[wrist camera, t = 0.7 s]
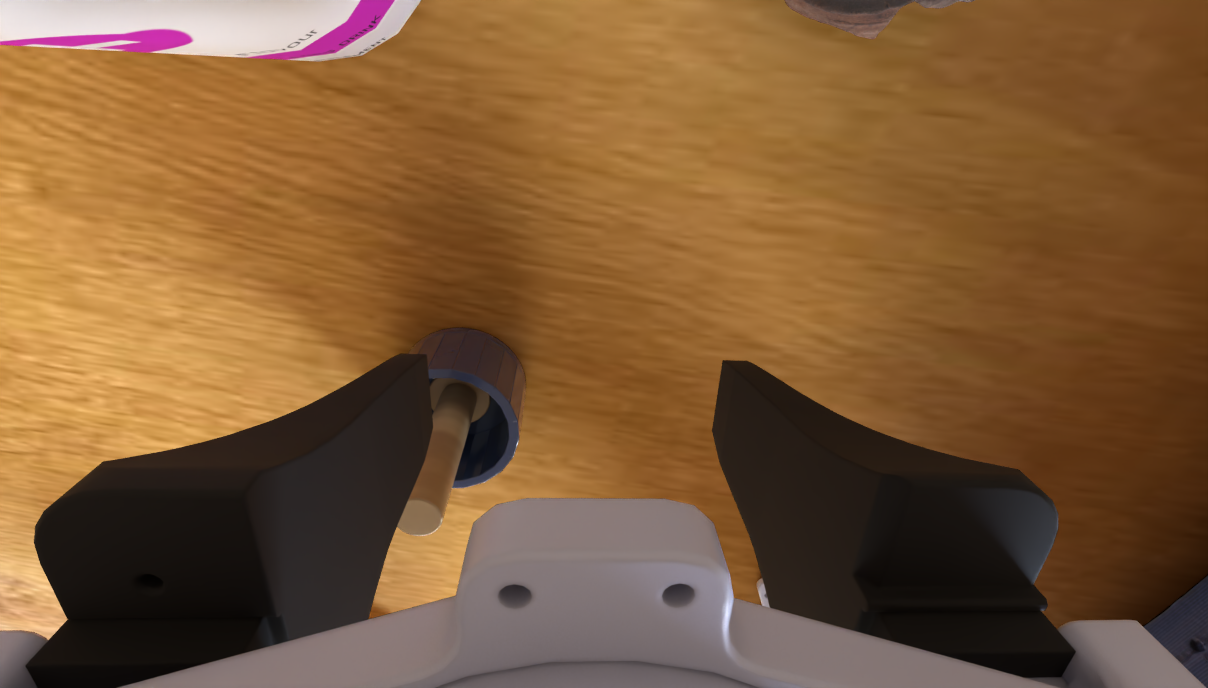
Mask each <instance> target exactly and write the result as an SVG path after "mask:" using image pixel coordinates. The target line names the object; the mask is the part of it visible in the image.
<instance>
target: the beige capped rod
mask: <svg viewBox="0 0 1208 688" xmlns="http://www.w3.org/2000/svg"><path fill="white" fill-rule="evenodd" d="M430 396H431V407H432V409H433V411H434V413H433V415H432V418H433V430H432V435H431V439H430V443H429V447H428V451H427V454H426V458H425V461H424V464H423V466H422V469H421V471H420V474H419V476H418V478H417V481H416V483H415V486H414V488H413V490H412V493H411V495H410V497H409V500H408V502H407V504H406V507H405V509H404V511H403V514H402V516H401V518H400V521H399V523H398V525H397V527H398V528H399V529H401V530H402V531H403V532H405V533H407V534H410V535H414V536H425V535H429V534H431V533H433V532H435V531H436V530H437V529H438V528H439V527H440V526H441V524H442V521H443V518H444V514H445V511H446V507H447V504H448V500H449V497H450V493H451V490H452V486H453V483H454V480H455V476H456V473H457V469H458V466H459V462H460V459H461V455H462V452H463V448H464V445H465V441H466V438H467V435H468V431H469V428H470V424H471V422H474V421H476V420H478V419H480V418H481V417H482V416H483V415H484V414H485V413H486V412H487V410H488V408H489V406H490V402H491V398H492V397H491V396H490V395H489V394H488V393H487V392H485V391H483V390H481V389H480V388H478V387H476V386H475V385H473V384H471V383H467V382H464V381H460V380H456V379H452V378H433V380H432V382H431V384H430Z"/></svg>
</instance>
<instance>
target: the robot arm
mask: <svg viewBox="0 0 1208 688" xmlns="http://www.w3.org/2000/svg"><path fill="white" fill-rule="evenodd" d="M432 430H433V418H432V407H431V396H430V385H429V374H428V363H427V354H399V355H397V356H395V357H393V358H391V359H389V360H387V361H386V362H384V363H382V364H380V365H379V366H377V367H376V368H374V369H372V370H371V371H369V372H367V373H366V374H364V375H362V376H360V377H359V378H357V379H355V380H354V381H352V382H350V383H349V384H347V385H345V386H343V387H341V388H340V389H338V390H336V391H334V392H332V393H330V394H328V395H327V396H325V397H323V398H321V399H319V400H317V401H315V402H313V403H311V404H309V405H307V406H305V407H303V408H300V409H298V410H296V411H294V412H291V413H289V414H287V415H284V416H282V417H279V418H277V419H274V420H272V421H269V422H266V423H263V424H260V425H257V426H254V427H251V428H248V429H245V430H242V431H239V432H236V433H234V434H231V435H227V436H224V437H220V438H217V439H213V440H209V441H206V442H202V443H198V444H193V445H189V446H185V447H181V448H176V449H172V450H167V451H162V452H157V453H151V454H145V455H140V456H134V457H129V458H123V459H117V460H111V461H104V462H102V463H101V464H100V465H99V466H97V467H96V468H95V469H94V470H93V471H91V472H90V473H89V474H88V475H87V476H85V477H84V478H83V479H82V480H81V481H79V482H78V483H77V484H76V485H75V486H73V487H72V488H71V489H70V490H69V491H67V492H66V493H65V494H64V495H63V496H61V497H60V498H59V499H58V500H57V501H55V502H54V503H53V504H52V505H51V506H49V507H48V508H47V509H46V510H45V511H44V512H43V514H42V515H41V517H40V519H39V521H38V522H37V524H36V526H35V537H34V544H35V548H36V551H37V554H38V558H39V561H40V564H41V566H42V568H43V570H44V572H45V574H46V576H47V578H48V580H49V582H50V584H51V586H52V588H53V590H54V593H55V595H56V597H57V599H58V601H59V603H60V605H61V607H62V609H63V611H64V613H65V615H66V617H67V619H68V620H67V621H66V622H65V623H64V624H63V625H62V626H61V628H60V629H59V630H58V631H57V632H56V633H55V634H54V635H53V636H52V637H51V638H50V639H49V640H47V639H46V638H45V637H43V636H41V635H39V634H37V633H35V632H29V631H22V630H13V631H0V688H1206V687H1205V686H1204V685H1203V684H1202V683H1201V682H1200V681H1199V680H1198V679H1197V678H1196V677H1195V676H1194V675H1192V674H1191V673H1190V672H1189V671H1188V670H1187V669H1186V668H1185V667H1184V666H1183V665H1182V664H1181V663H1180V662H1179V661H1178V660H1177V659H1176V658H1175V657H1174V656H1173V655H1172V654H1171V653H1170V652H1169V651H1168V650H1167V649H1166V648H1165V647H1164V646H1162V645H1161V644H1160V643H1159V642H1158V641H1157V640H1156V639H1155V638H1154V637H1153V636H1152V635H1151V634H1150V633H1149V632H1148V631H1147V630H1146V629H1145V628H1144V627H1143V626H1142V625H1141V624H1140V623H1139V622H1138V621H1135V620H1077V621H1071V622H1067V623H1066V624H1064V625H1062V626H1060V627H1059V628H1058V629H1056V628H1055V627H1054V626H1053V624H1052V623H1051V622H1050V621H1049V620H1048V619H1047V618H1046V616H1045V615H1044V614H1043V613H1042V612H1041V611H1045V610H1046V608H1047V606H1048V603H1047V599H1046V598H1045V597H1044V596H1043V595H1042V594H1041V593H1040V592H1039V590H1038V589H1037V588H1036V587H1035V586H1034V585H1033V584H1034V582H1035V580H1036V578H1037V576H1038V574H1039V572H1040V570H1041V568H1042V566H1043V564H1044V562H1045V560H1046V558H1047V556H1048V554H1049V552H1050V550H1051V548H1052V546H1053V543H1054V540H1055V537H1056V534H1057V531H1058V512H1057V510H1056V507H1055V505H1054V503H1053V501H1052V500H1051V499H1050V498H1049V497H1048V496H1047V495H1046V494H1045V493H1044V492H1043V491H1042V490H1041V489H1040V488H1038V487H1037V486H1036V485H1035V484H1034V483H1033V482H1032V481H1031V480H1030V479H1029V478H1028V477H1026V476H1025V475H1024V474H1023V473H1022V472H1021V471H1020V470H1018V469H1014V468H1009V467H1004V466H999V465H994V464H989V463H984V462H979V461H974V460H969V459H964V458H960V457H956V456H952V455H948V454H945V453H941V452H937V451H933V450H930V449H926V448H923V447H920V446H917V445H913V444H910V443H907V442H905V441H902V440H899V439H896V438H893V437H890V436H888V435H885V434H882V433H880V432H877V431H875V430H872V429H870V428H867V427H865V426H863V425H861V424H858V423H856V422H854V421H852V420H849V419H847V418H845V417H843V416H841V415H839V414H837V413H835V412H833V411H831V410H830V409H828V408H826V407H824V406H822V405H820V404H819V403H817V402H815V401H813V400H811V399H810V398H808V397H806V396H805V395H803V394H801V393H800V392H798V391H796V390H795V389H793V388H792V387H790V386H788V385H787V384H785V383H784V382H782V381H781V380H779V379H777V378H776V377H774V376H773V375H771V374H770V373H768V372H766V371H765V370H763V369H761V368H760V367H758V366H756V365H755V364H753V363H751V362H748V361H728V360H723V362H722V369H721V375H720V382H719V388H718V395H717V402H716V408H715V415H714V422H713V428H712V432H713V436H714V441H715V445H716V450H717V454H718V458H719V462H720V465H721V467H722V470H723V472H724V475H725V477H726V480H727V482H728V485H729V487H730V490H731V492H732V495H733V497H734V500H735V502H736V504H737V507H738V509H739V512H740V514H741V517H742V519H743V521H744V524H745V526H746V529H747V531H748V534H749V536H750V539H751V542H752V545H753V548H754V551H755V554H756V558H757V561H758V565H759V568H760V572H761V576H762V578H761V579H759V580H758V582H757V589H758V593H759V597H760V600H761V604H762V605H758V604H754V603H751V602H747V601H743V600H740V599H736V598H734V596H733V590H732V584H731V578H730V573H729V570H728V567H727V564H726V561H725V558H724V554H723V551H722V548H721V545H720V542H719V539H718V535H717V532H716V529H715V526H714V523H713V522H712V521H711V520H710V519H709V518H708V517H706V516H705V515H704V514H703V513H702V512H701V511H700V510H699V509H698V508H697V507H695V506H694V505H690V504H686V503H681V502H677V501H672V500H668V499H615V498H526V499H521V500H516V501H511V502H506V503H501V504H497V505H495V506H494V507H492V508H491V509H490V510H489V511H487V512H486V513H485V514H484V515H482V516H481V517H480V518H479V519H477V520H476V521H475V522H474V523H473V527H472V530H471V533H470V537H469V540H468V544H467V548H466V552H465V557H464V561H463V566H462V570H461V575H460V579H459V584H458V588H457V592H456V596H453V597H449V598H445V599H442V600H438V601H434V602H431V603H427V604H423V605H419V606H416V607H412V608H408V609H405V610H401V611H397V612H394V613H390V614H386V615H383V616H379V617H375V618H372V619H368V618H369V614H370V611H371V607H372V603H373V600H374V596H375V592H376V589H377V585H378V582H379V578H380V575H381V571H382V568H383V565H384V561H385V558H386V554H387V551H388V548H389V546H390V543H391V540H392V537H393V535H394V532H395V530H396V528H397V525H398V523H399V521H400V518H401V516H402V514H403V511H404V509H405V507H406V504H407V502H408V500H409V497H410V495H411V493H412V490H413V488H414V486H415V483H416V481H417V478H418V476H419V474H420V471H421V469H422V466H423V464H424V461H425V458H426V454H427V451H428V447H429V443H430V439H431V435H432Z"/></svg>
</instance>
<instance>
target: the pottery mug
mask: <svg viewBox="0 0 1208 688" xmlns="http://www.w3.org/2000/svg"><path fill="white" fill-rule="evenodd" d="M914 1H915V2H917V3H919V4H920V5H922V6H923V7H925V8H930V7H931V8H944V7H947V6H949V5H952V4H953V3H955V2H958V1H962V2H972V1H974V0H785V2H786V4H787V5H788V7H790V8H791V9H792V10H794V11H796V12H798V13H800V14H801V15H803V16H805V17H808V18H810V19H814V20H817V21H819V22H821V23H826V24H829V25H832V26H834V27H837V28H839V29H842V30H844V31H847V32H850V33H853V34H854V35H856V36H859V37H864V38H869V39H875V38H876V37H877V35H878V33H879V32H881V31H882V30H883V29H884V28H885V27H886V26H887V25H888V23H889V22H890V21H891V20H892V18H893V17H894V15H895V14H896V13H897V11H898V10H899V9H900V8H902V7H903V6H904V5H907V4H909V3H911V2H914Z"/></svg>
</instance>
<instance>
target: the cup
mask: <svg viewBox="0 0 1208 688" xmlns="http://www.w3.org/2000/svg"><path fill="white" fill-rule="evenodd" d="M408 354H427V363H428V374H429V385H430V384H431V382H432V380H433V378H452V379H456V380H460V381H464V382H467V383H471V384H473V385H475V386H476V387H478V388H480V389H481V390H483V391H485V392H487V393H488V394H489V395H490V396H491V397H492V398H491V402H490V406H489V408H488V410H487V412H486V413H485V414H484V415H483V416H482V417H481V418H480V419H478V420H476V421H474V422H471V424H470V428H469V431H468V435H467V438H466V441H465V445H464V448H463V452H462V455H461V459H460V462H459V466H458V469H457V473H456V476H455V480H454V483H453V486H452V488H467V487H470V486H474V485H477V484H481V483H484V482H486V481H488V480H489V479H491V478H492V477H494V476H496V475H497V474H499V473H500V472H501V471H503V469H504V468H505V467H506V466H507V464H508V463H509V462H510V461H511V460H512V458H513V456H514V454H515V451H516V448H517V445H518V442H519V438H520V431H521V424H522V417H523V410H524V403H525V390H526V380H525V375H524V371H523V368H522V366H521V364H520V362H519V360H518V358H517V357H516V356H515V354H514V353H513V352H512V351H511V350H510V348H509V347H507V346H506V345H505V344H504V343H503V342H501V341H500V340H498V339H497V338H495V337H493V336H491V335H489V334H487V333H484V332H482V331H478V330H474V329H468V328H450V329H444V330H440V331H437V332H434V333H431V334H429V335H428V336H426V337H424V338H423V339H421V340H420V341H419V342H417V343H416V344H415V345H414V346H413V347H412V349H411V350H410V351H409V353H408ZM433 413H434V411H433V409H432V415H433Z"/></svg>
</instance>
